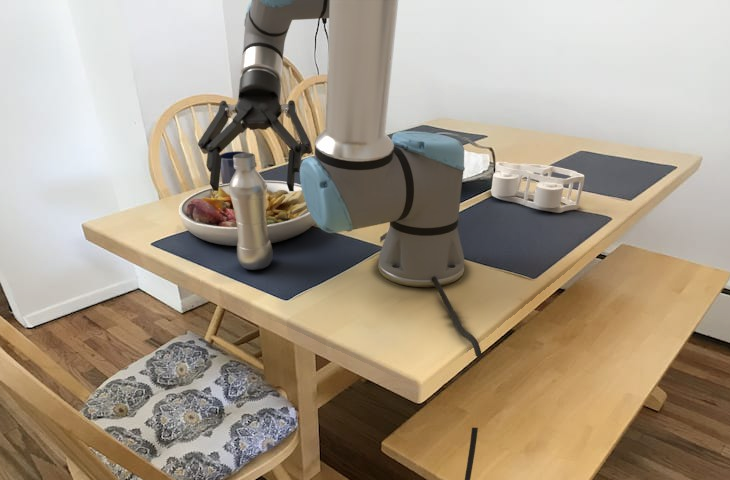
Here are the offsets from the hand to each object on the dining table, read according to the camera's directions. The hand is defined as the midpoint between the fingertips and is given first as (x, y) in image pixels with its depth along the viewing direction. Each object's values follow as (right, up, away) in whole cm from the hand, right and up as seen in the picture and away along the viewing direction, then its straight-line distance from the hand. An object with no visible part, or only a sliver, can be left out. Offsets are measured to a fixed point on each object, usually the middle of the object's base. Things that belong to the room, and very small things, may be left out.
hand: (251, 187), depth 96 cm
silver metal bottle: (0, -13, +5) cm, 14 cm away
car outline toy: (+59, +5, +31) cm, 67 cm away
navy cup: (-10, +10, +41) cm, 44 cm away
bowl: (-3, -2, +23) cm, 23 cm away
